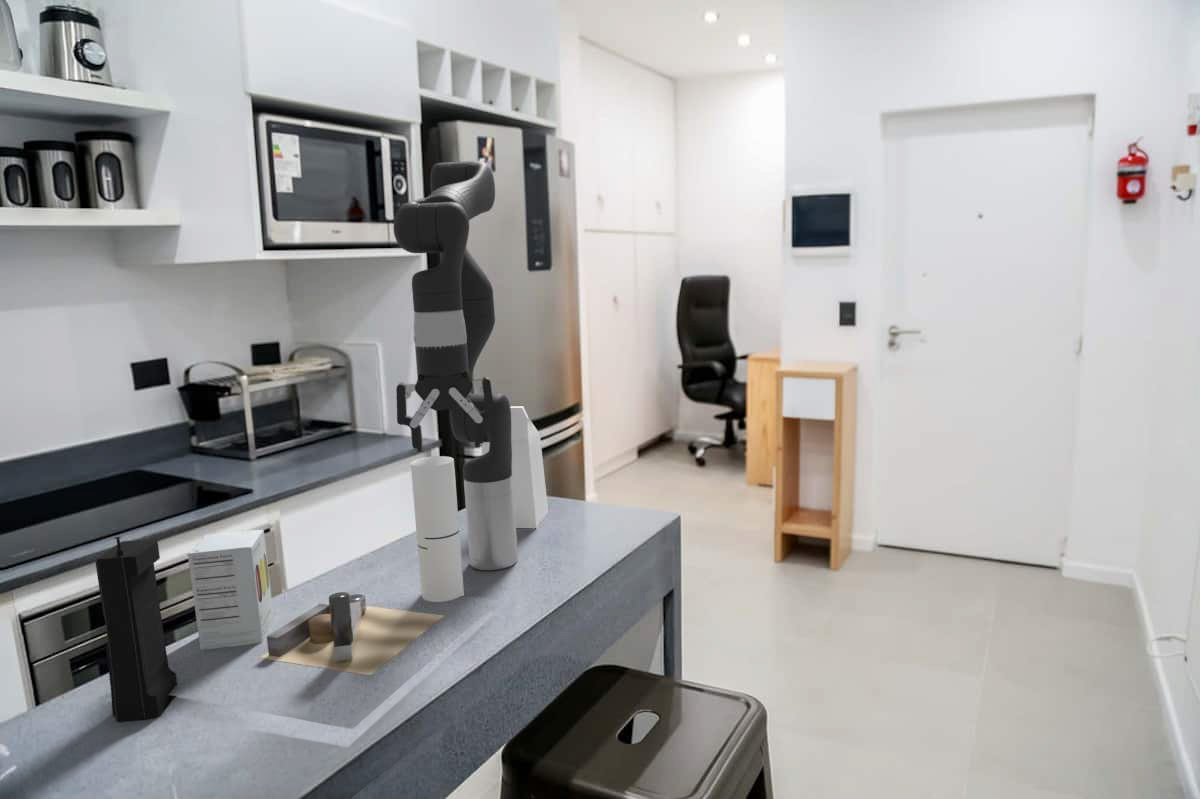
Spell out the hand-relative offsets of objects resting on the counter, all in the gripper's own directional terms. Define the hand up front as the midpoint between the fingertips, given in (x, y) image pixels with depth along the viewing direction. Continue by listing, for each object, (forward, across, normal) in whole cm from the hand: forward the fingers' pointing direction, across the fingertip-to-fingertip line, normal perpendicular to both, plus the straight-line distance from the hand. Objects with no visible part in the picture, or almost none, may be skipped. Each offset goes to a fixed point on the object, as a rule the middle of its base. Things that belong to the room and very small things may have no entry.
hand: (448, 448), depth 124 cm
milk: (+30, -12, -56) cm, 65 cm away
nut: (+29, +21, -1) cm, 36 cm away
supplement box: (+30, +35, -7) cm, 47 cm away
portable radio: (+30, +42, +11) cm, 53 cm away
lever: (+28, +17, -2) cm, 33 cm away
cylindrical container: (+30, +3, -14) cm, 34 cm away
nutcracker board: (+30, +16, -1) cm, 34 cm away
